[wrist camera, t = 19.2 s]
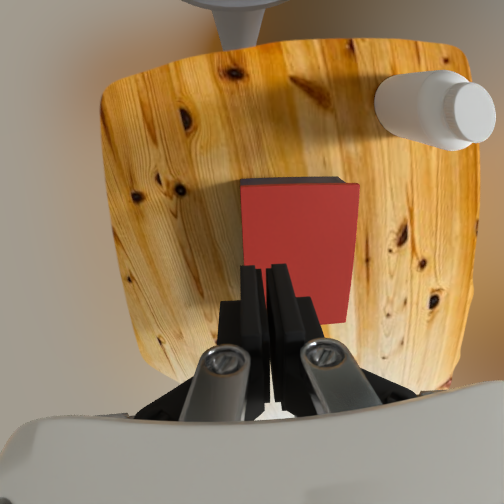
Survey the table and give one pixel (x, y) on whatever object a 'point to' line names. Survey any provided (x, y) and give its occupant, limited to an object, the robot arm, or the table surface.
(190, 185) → the table surface
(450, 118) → the pill bottle
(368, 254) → the table surface
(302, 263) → the lunchbox lid
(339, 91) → the table surface
